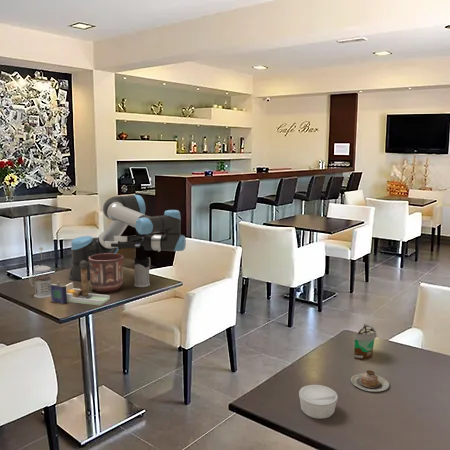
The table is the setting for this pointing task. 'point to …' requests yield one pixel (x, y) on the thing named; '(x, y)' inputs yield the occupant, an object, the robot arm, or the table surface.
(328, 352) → the table surface
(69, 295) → the pale green tray
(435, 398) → the table surface
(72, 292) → the ball
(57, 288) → the flask
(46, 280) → the french press
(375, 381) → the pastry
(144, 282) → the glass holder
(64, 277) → the table surface
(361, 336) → the food container
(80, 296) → the kicker
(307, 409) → the ramekin
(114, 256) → the pottery
